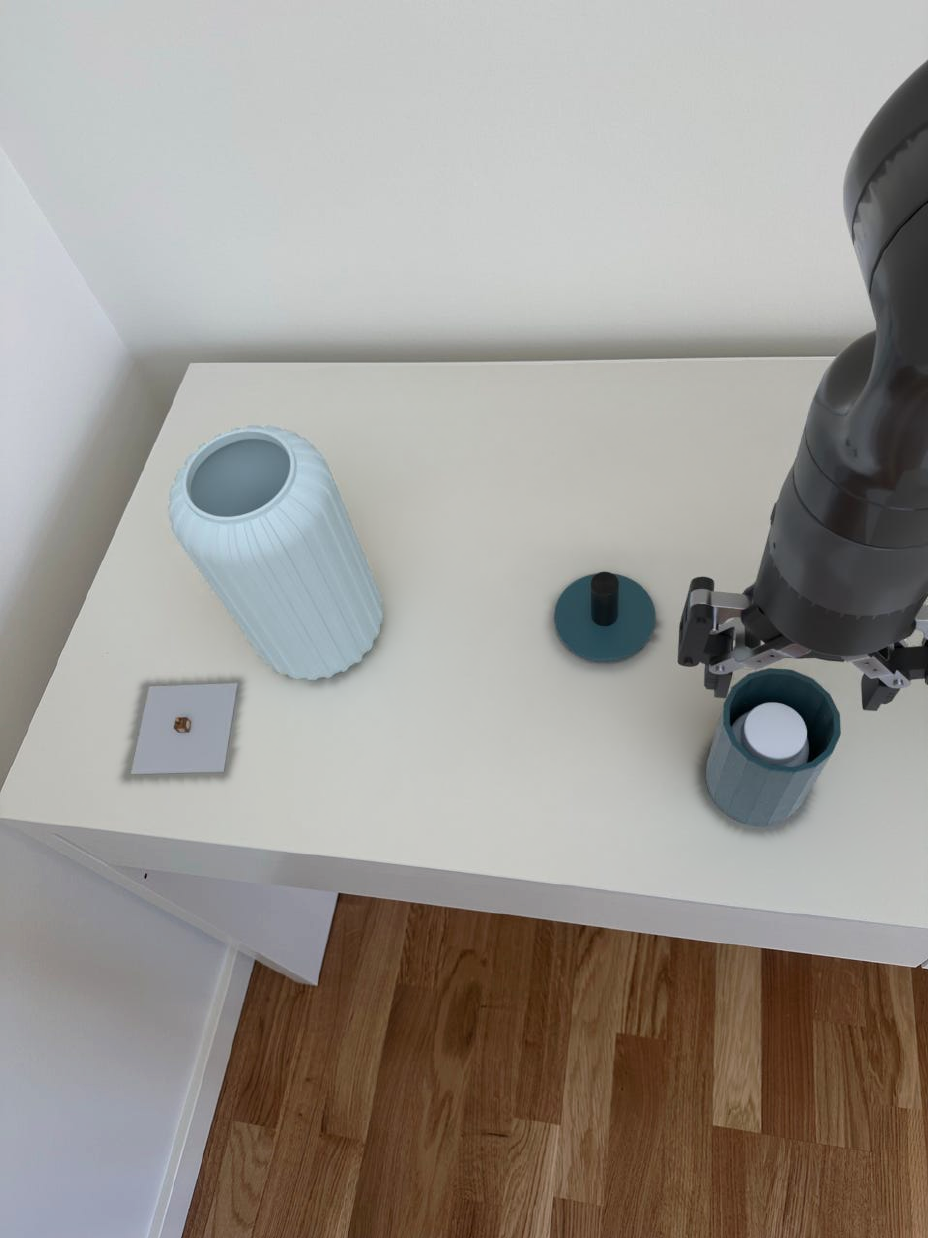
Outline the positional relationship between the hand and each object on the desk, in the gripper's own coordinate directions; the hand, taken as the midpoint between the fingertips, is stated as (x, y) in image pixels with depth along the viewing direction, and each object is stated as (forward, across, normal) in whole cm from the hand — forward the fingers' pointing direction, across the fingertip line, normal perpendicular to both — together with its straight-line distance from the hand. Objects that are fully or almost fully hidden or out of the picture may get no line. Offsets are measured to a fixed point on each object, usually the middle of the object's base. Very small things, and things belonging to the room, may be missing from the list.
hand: (793, 690), depth 55 cm
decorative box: (+15, -46, -1) cm, 49 cm away
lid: (+15, -12, +12) cm, 23 cm away
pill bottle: (+15, 0, 0) cm, 15 cm away
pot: (+16, 0, 0) cm, 16 cm away
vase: (+16, -36, +9) cm, 41 cm away
